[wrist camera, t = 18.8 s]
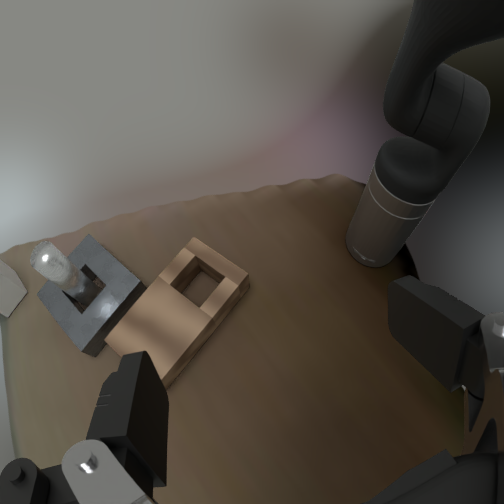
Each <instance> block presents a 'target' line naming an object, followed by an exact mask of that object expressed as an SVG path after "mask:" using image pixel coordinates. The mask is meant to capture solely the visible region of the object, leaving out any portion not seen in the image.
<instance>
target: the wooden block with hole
mask: <svg viewBox="0 0 504 504" xmlns="http://www.w3.org/2000/svg"><path fill="white" fill-rule="evenodd" d="M201 270H202V271H203V272H205V273H206V274H208V275H209V276H210V277H212V278H213V279H215V280H216V281H217V282H219V283H220V284H219V285H218V287H217V288H216V289H215V290H214V291H213V293H212V294H211V295H210V296H209V297H208V299H207V300H206V301H205V302H204V303H203V305H202V306H201V307H200V308H199V307H197V306H196V305H195V304H194V303H192V302H191V301H190V300H188V299H187V298H186V297H185V296H183V295H182V294H181V293H182V292H183V290H184V289H185V288H186V287H187V286H188V285H189V283H190V282H191V281H192V280H193V279H194V278H195V277H196V275H197V274H198V273H199V272H200V271H201ZM249 287H250V286H249V275H248V273H247V272H245V271H244V270H242V269H241V268H239V267H238V266H236V265H235V264H233V263H232V262H230V261H229V260H227V259H226V258H225V257H223V256H222V255H220V254H219V253H217V252H216V251H214V250H213V249H211V248H210V247H208V246H207V245H205V244H204V243H202V242H201V241H199V240H198V239H197V238H195V237H193V238H192V239H191V240H190V242H189V243H188V244H187V245H186V246H185V247H184V248H183V249H182V250H181V251H180V253H179V254H178V255H177V256H176V257H175V258H174V259H173V260H172V261H171V263H170V264H169V265H168V266H167V267H166V268H165V269H164V270H163V271H162V273H161V274H160V275H159V276H158V277H157V278H156V279H155V281H154V282H153V283H152V284H151V285H150V286H149V287H148V289H147V290H146V291H145V292H144V293H143V294H142V295H141V297H140V298H139V299H138V300H137V301H136V302H135V304H134V305H133V306H132V307H131V308H130V309H129V311H128V312H127V313H126V314H125V315H124V317H123V318H122V319H121V320H120V321H119V323H118V324H117V325H116V326H115V327H114V328H113V330H112V331H111V332H110V333H109V335H108V336H107V337H106V338H105V339H104V340H105V341H106V342H107V344H108V345H109V346H110V347H111V348H112V349H113V350H114V351H115V352H116V353H117V354H118V355H119V356H120V357H121V358H122V356H123V355H125V354H130V353H135V352H140V351H147V352H148V354H149V355H150V357H151V359H152V362H153V364H154V366H155V368H156V370H157V372H158V374H159V376H160V379H161V381H162V383H163V385H164V387H165V389H167V388H168V387H169V386H170V385H171V383H172V382H173V381H174V380H175V379H176V377H177V376H178V375H179V374H180V372H181V371H182V370H183V369H184V368H185V366H186V365H187V364H188V363H189V361H190V360H191V359H192V358H193V357H194V355H195V354H196V353H197V352H198V350H199V349H200V348H201V347H202V346H203V344H204V343H205V342H206V341H207V339H208V338H209V337H210V336H211V334H212V333H213V332H214V331H215V329H216V328H217V327H218V326H219V325H220V323H221V322H222V321H223V320H224V318H225V317H226V316H227V315H228V313H229V312H230V311H231V310H232V308H233V307H234V306H235V305H236V303H237V302H238V301H239V300H240V298H241V297H242V296H243V295H244V293H245V292H246V291H247V290H248V288H249Z"/></svg>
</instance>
